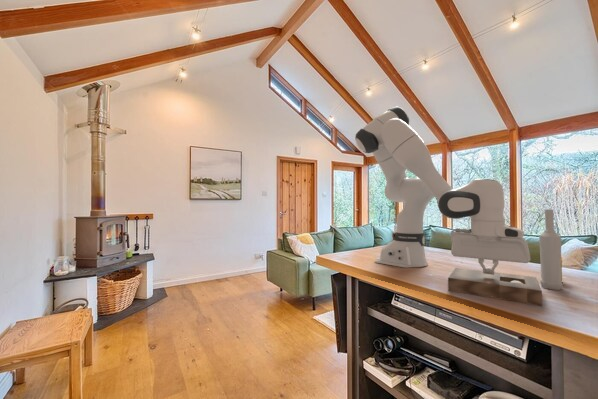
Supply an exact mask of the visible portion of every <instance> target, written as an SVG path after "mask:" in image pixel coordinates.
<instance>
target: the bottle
mask: <svg viewBox="0 0 598 399" xmlns="http://www.w3.org/2000/svg"><path fill="white" fill-rule="evenodd" d="M554 213H555V212H554V209H544V216H545V217H544V219H545V222H544V223H545V224H544V225H545V226H544V227H545V229H544V230H543V232H542V233H540V234H539V235H538V239H539V240H538V241H539V242H538V243H539V255H540V257H539V258H540V259H539V260H540V278H541V277H542V279H540V287H541V288H545V289H548V290H557V291H559V290H563V281H562V282H561V262H562V236H561V235H560V234H558V233H557V232H556V230H555V225H554Z"/></svg>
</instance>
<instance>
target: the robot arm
mask: <svg viewBox="0 0 598 399" xmlns="http://www.w3.org/2000/svg"><path fill="white" fill-rule="evenodd" d="M355 142H356V145H357V147H358V148H359V149H360V151H361V152H363V153H366V154H373V156H374V159H375V160H376V162H377V164H378V165H379V167H380V169H381V171H382V173H383V175H384V177H385V181H386V185H385V187H384V195H385V197H386V199H387V200H389V201H391V202H394V203H395V202H396V203H404V205H403V209H401V211H400V212H399V213H397V216H396V232H394V233H392V234H391V237H392V240H391V241H390V242H388V243H387V244H385V245H384V246H383V247H382V248H381V250H380V254H379V255H380V256H378V257H377V258H375V261H374V262H375V263H377V264H383V265H388V266H393V267H399V268H405V269H406V268H420V267H426V266H427V267H428V265H429V263H428V261H427V256H426V252H425V242H426V241H425V233H424V214H425V212H426V209H427V206H428V204H429V203H430V202H431V201H432V200H433V199H435V200H436V203H437V208H438V210H439V212H440V213H441V214H442V215H443V216H444V217H446V218H448V219H452V220H460V219H463V218H467V217H468V218H470V228H454V229H453V230H451V231H450V233H449V234H450V236H449V237H450V240H451V248H450V250H451V251H450V253H451V255H452V256H453V257H458V258H465V259H466V258H467V259H478V263H479V265H480V267H481V269H482V271H483V273H484V274H492V275H494V272H495V269H496V268H497V267H498V265H499V262H508V263H509V262H510V263H519V264H528V263H529V262H530V261H531V253H530V252H531V251H530V249H529V244H528V242H527V241H526V239H525V238H524V236H525V232H524V230H523V229H521V228H518V227H513V226H512V225H507V224H506V220H505V217H504V216H505V215H504V209H505V194H504V189H503V185H502V184H501V183H500V181H498V180H496V179H492V178H481V177H479V178H474V179H472V180H471V181H470V182H467V183H466V184H464V185H461V186H459V187H457V188H453V187H452V186H451V185H450V184H449V183H448V182H447V180H445V178H444V177H443V176H442V175H441V173H440V172H439V171H438V170H437V168H436V166H435V164H434V162H433V160H432V159H433V158H432V157H431V152H430V150H429V149H428V146H427V145H426V143H425V141H424V140H423V139H422V137H420V135H419V134H418V133H417V132H416V130H414V129H413V128H412V127H411V126H410V117H409V115H408V112H406V111H405V109H403V108H402V107H400V106H393V107H390V108H388V109H387V110H386V111H384V112H383V113H381V114H379V115H378V116H375V117H374V118H373V119H372V120H371V121H370V122H369V123H367V124H366V125H365V126H364V127H363V128H360V129H359V130H358V132H356V134H355ZM406 171H408V172H410V173H411V174H412V175H415V176H416V177H408V176H407V175H406ZM485 260H488V261H489V260H490V261H492V264H493V265H492V267H488V266H486V265H485V264H484V263H485Z"/></svg>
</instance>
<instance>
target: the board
mask: <svg viewBox="0 0 598 399" xmlns="http://www.w3.org/2000/svg"><path fill="white" fill-rule="evenodd" d="M511 281H519V282H521V283H523V284H520V283H513V282H511ZM447 289H448V291H449V292H455V293H460V294H468V295H472V296H473V295H474V296H479V297H484V298H485V297H486V298H491V299H492V298H493V299H497V300H504V301H508V302H515V303H522V304H528V305H534V306H541V307H542V306H543V294H542V292H543V291H542V290H543V289H542V287H541V284H540V283H539V281H538V278H537V276H529V275H521V274H511V273H504V272H503V273H502V272H496V271H494V275H492V274H484V273H483V270H479V269H476V270H475V269H469V268H459V267H455V268H454V269H453V270H452V272H451V273H450V275H449V276H448V277H447Z"/></svg>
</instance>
